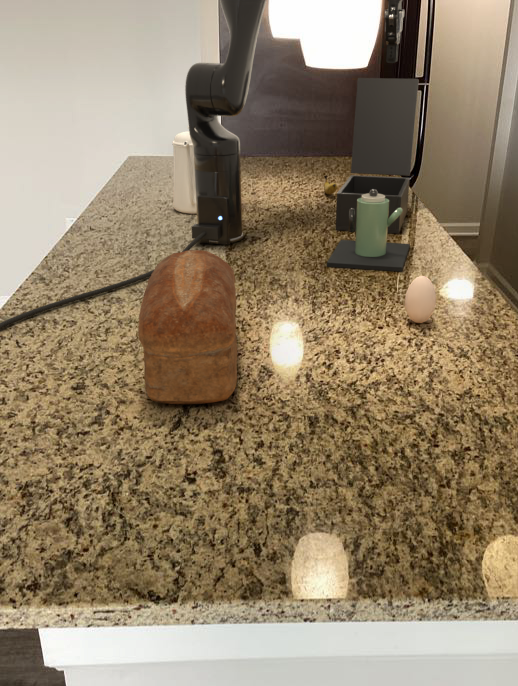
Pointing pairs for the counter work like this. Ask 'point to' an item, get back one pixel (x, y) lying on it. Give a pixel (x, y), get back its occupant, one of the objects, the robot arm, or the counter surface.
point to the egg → (420, 299)
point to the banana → (329, 187)
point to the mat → (388, 262)
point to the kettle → (372, 224)
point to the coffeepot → (184, 174)
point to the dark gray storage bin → (359, 185)
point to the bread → (189, 329)
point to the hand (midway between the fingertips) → (391, 62)
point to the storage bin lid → (384, 126)
